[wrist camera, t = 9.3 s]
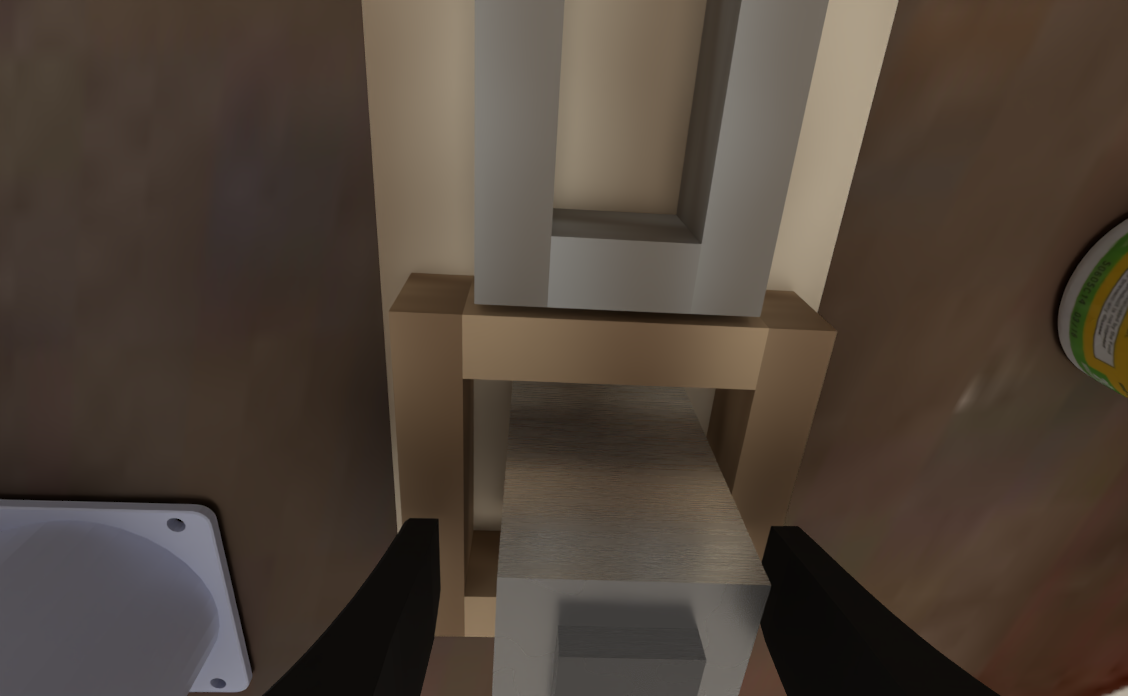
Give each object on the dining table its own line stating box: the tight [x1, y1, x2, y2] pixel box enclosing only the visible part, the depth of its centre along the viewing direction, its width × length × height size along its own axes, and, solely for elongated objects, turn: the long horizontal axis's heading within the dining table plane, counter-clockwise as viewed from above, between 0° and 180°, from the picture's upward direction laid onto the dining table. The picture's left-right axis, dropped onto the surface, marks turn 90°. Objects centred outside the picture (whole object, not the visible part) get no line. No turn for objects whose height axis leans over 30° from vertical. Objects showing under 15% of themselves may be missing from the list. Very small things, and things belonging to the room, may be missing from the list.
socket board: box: [362, 0, 899, 637], centre depth 14 cm, size 11×22×3 cm, turn 176°
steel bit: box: [492, 381, 771, 696], centre depth 14 cm, size 4×4×8 cm
